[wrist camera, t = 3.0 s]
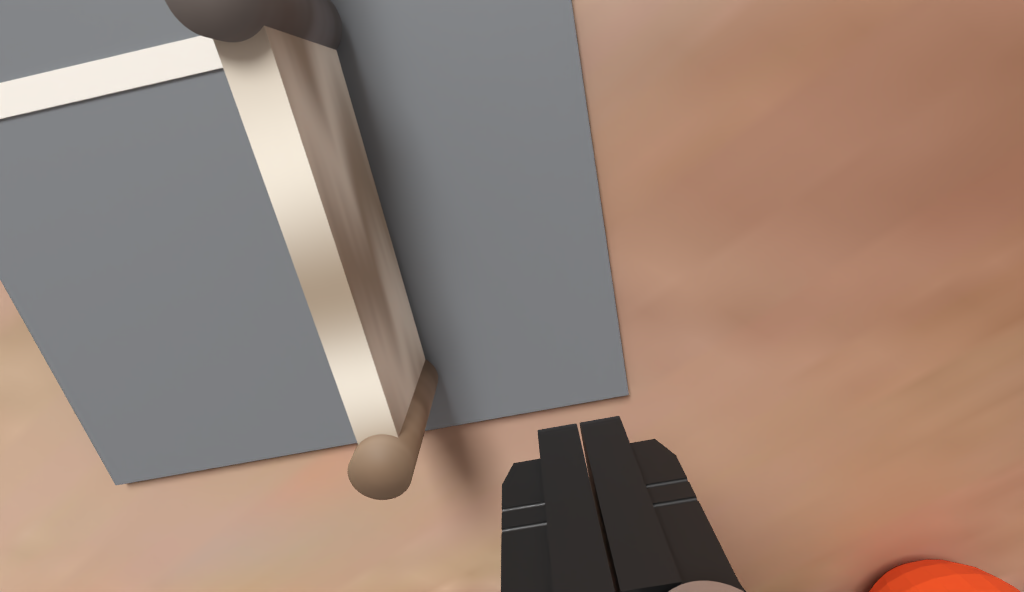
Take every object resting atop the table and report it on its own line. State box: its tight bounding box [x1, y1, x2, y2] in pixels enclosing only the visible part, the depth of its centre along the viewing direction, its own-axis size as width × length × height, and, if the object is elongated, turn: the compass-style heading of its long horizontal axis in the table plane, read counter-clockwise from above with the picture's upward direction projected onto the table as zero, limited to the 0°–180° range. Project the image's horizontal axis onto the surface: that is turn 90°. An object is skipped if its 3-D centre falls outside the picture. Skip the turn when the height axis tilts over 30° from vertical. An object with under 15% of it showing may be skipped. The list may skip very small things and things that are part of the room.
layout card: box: [0, 0, 629, 485], centre depth 17 cm, size 22×30×1 cm
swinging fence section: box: [165, 0, 438, 500], centre depth 15 cm, size 14×2×6 cm, turn 12°
